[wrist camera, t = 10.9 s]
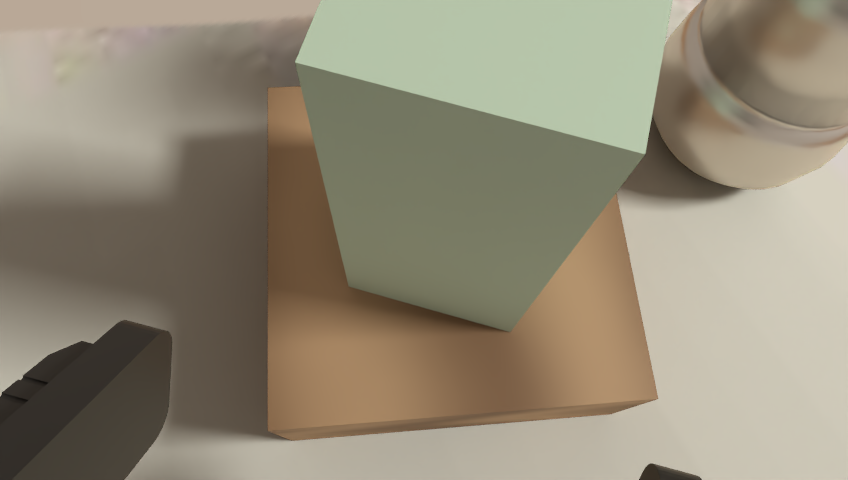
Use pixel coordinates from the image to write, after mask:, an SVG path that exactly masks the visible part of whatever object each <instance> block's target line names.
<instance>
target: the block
mask: <svg viewBox="0 0 848 480" xmlns="http://www.w3.org/2000/svg"><path fill="white" fill-rule="evenodd" d="M671 6H672V0H321V1H320V4H319V6H318V8H317V11H316V13H315V16H314V18H313V20H312V23H311V25H310V27H309V30H308V32H307V35H306V37H305V39H304V42H303V44H302V46H301V49H300V51H299V54H298V56H297V58H296V61H295V65H296V69H297V73H298V78H299V82H300V86H301V90H302V94H303V98H304V102H305V107H306V111H307V115H308V119H309V123H310V127H311V132H312V136H313V140H314V144H315V148H316V152H317V157H318V161H319V165H320V169H321V173H322V177H323V182H324V186H325V190H326V194H327V198H328V202H329V207H330V211H331V215H332V219H333V223H334V227H335V232H336V236H337V240H338V244H339V248H340V252H341V257H342V261H343V265H344V269H345V273H346V277H347V281H348V286H349V287H352V288H356V289H359V290H363V291H366V292H370V293H373V294H377V295H380V296H384V297H387V298H391V299H395V300H398V301H402V302H405V303H409V304H412V305H416V306H419V307H423V308H426V309H430V310H433V311H437V312H441V313H444V314H448V315H451V316H455V317H458V318H462V319H465V320H469V321H472V322H476V323H480V324H483V325H487V326H490V327H494V328H497V329H501V330H504V331H508V332H511V331H512V329H513V328H514V327H515V325H516V324H517V323H518V321H519V320H520V319H521V317H522V316H523V315H524V314H525V312H526V311H527V310H528V308H529V307H530V306H531V304H532V303H533V302H534V300H535V299H536V298H537V296H538V295H539V294H540V292H541V291H542V290H543V288H544V287H545V286H546V285H547V283H548V282H549V281H550V279H551V278H552V277H553V275H554V274H555V273H556V271H557V270H558V269H559V267H560V266H561V265H562V263H563V262H564V261H565V260H566V258H567V257H568V256H569V254H570V253H571V252H572V250H573V249H574V248H575V246H576V245H577V244H578V242H579V241H580V240H581V238H582V237H583V236H584V234H585V233H586V232H587V231H588V229H589V228H590V227H591V225H592V224H593V223H594V221H595V220H596V219H597V217H598V216H599V215H600V213H601V212H602V211H603V209H604V208H605V207H606V205H607V204H608V203H609V202H610V200H611V199H612V198H613V196H614V195H615V194H616V192H617V191H618V190H619V188H620V187H621V186H622V184H623V183H624V182H625V180H626V179H627V178H628V177H629V175H630V174H631V173H632V171H633V170H634V169H635V167H636V166H637V165H638V163H639V162H640V161H641V159H642V158H643V157H644V155H645V153H646V148H647V142H648V136H649V131H650V125H651V119H652V114H653V108H654V102H655V97H656V91H657V85H658V80H659V74H660V68H661V63H662V57H663V51H664V46H665V40H666V34H667V29H668V23H669V17H670V12H671Z"/></svg>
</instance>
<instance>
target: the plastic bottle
mask: <svg viewBox="0 0 848 480" xmlns="http://www.w3.org/2000/svg"><path fill="white" fill-rule="evenodd" d="M653 118H654V121H655V123H656V125H657V128H658V130H659V133H660V135H661V137H662V139H663V140H664V142H665V144H666V145H667V147H668V148H669V150H670V151H671V152H672V153H673V154H674V155H675V157H676V158H677V159H678V160H679V161H680V162H681V163H682V164H684V165H685V166H686V167H688V168H689V169H690V170H691V171H693V172H695V173H696V174H698V175H700V176H702V177H703V178H705V179H708V180H711V181H713V182H716V183H719V184H722V185H726V186H731V187H736V188H741V189H768V188H773V187H778V186H781V185H783V184H785V183H788V182H790V181H792V180H795V179H797V178H799V177H801V176H803V175H805V174H808V173H810V172H812V171H814V170H816V169H818V168H821V167H822V166H823V165H824V164H826V163H827V162H828V161H830V160H831V159H832V158H834V157H835V155H836V154H837V153H838V152H839V151H840V150H841V149H842V148H843V147H844V146H845V145H846V144H847V142H848V0H702V1H701V2H700V3H699V4H698V5H697V6H696V7H695V8H694V9H693V10H692V11H691V12H690V13H689V14H688V16H687V17H686V18H685V19H684V20H683V21H682V23H681V24H680V25H679V26H678V27H677V28H676V30H675V31H674V32H673V33H672V34H671V36H670V37H669V39H668V40H667V42H666V44H665V46H664V51H663V57H662V63H661V68H660V74H659V80H658V85H657V91H656V97H655V102H654V108H653Z"/></svg>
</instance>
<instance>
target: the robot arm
mask: <svg viewBox="0 0 848 480" xmlns="http://www.w3.org/2000/svg"><path fill="white" fill-rule="evenodd" d="M171 355H172V337H171V334H170V333H169V332H168V331H164V330H161V329H157V328H153V327H149V326H146V325H142V324H138V323H135V322H131V321H127V320H123V321H120V322H119V323H117V324H116V325H115V326H114V327H112V328H111V329H110V330H109V331H108V332H107V333H105V334H104V335H103V336H102V337H101V338H100V339H99V340H97V341H96V342H95V343H94V344H91V343H87V342H84V341H81V342H78V343H76V344H74V345H71V346H69V347H67V348H64V349H62V350H59V351H57V352H55V353H52V354H50V355H48V356H47V357H46V358H44V359H43V360H42V361H41V362H39V363H38V364H37V365H36V366H34V367H33V368H32V369H31V370H29V371H28V372H27V373H26V374H24V375H23V378H22V380H17V381H16V382H15V383H13V384H12V385H11V386H10V387H8V388H7V389H6V390H5V391H3V392H2V395H1V397H0V480H124V479H125V478H126V477H127V476H128V474H129V473H130V472H131V471H132V469H133V468H134V467H135V466H136V464H137V463H138V462H139V460H140V459H141V458H142V457H143V455H144V454H145V453H146V452H147V450H148V449H149V448H150V447H151V445H152V444H153V443H154V441H155V440H156V438H157V437H158V435H159V433H160V431H161V429H162V427H163V424H164V422H165V419H166V416H167V412H168V407H169V394H170V375H171ZM639 480H702V479H701V478H700V477H699V476H696V475H693V474H689V473H685V472H682V471H678V470H674V469H670V468H667V467H663V466H659V465H656V464H649V465H647V466H646V468H645V469H644V471H643V473H642V475H641V477H640V479H639Z"/></svg>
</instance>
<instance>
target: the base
mask: <svg viewBox="0 0 848 480" xmlns="http://www.w3.org/2000/svg"><path fill="white" fill-rule="evenodd" d="M656 399H658V396H657V391H656V386H655V381H654V376H653V371H652V366H651V361H650V356H649V351H648V346H647V341H646V337H645V332H644V327H643V322H642V317H641V312H640V307H639V302H638V297H637V292H636V287H635V283H634V278H633V273H632V268H631V263H630V258H629V253H628V248H627V243H626V238H625V233H624V228H623V224H622V219H621V214H620V209H619V204H618V199H617V194H615V195H614V196H613V198H612V199H611V200H610V202H609V203H608V204H607V205H606V207H605V208H604V209H603V211H602V212H601V213H600V215H599V216H598V217H597V219H596V220H595V221H594V223H593V224H592V225H591V227H590V228H589V229H588V231H587V232H586V233H585V234H584V236H583V237H582V238H581V240H580V241H579V242H578V244H577V245H576V246H575V248H574V249H573V250H572V252H571V253H570V254H569V256H568V257H567V258H566V260H565V261H564V262H563V263H562V265H561V266H560V267H559V269H558V270H557V271H556V273H555V274H554V275H553V277H552V278H551V279H550V281H549V282H548V283H547V285H546V286H545V287H544V288H543V290H542V291H541V292H540V294H539V295H538V296H537V298H536V299H535V300H534V302H533V303H532V304H531V306H530V307H529V308H528V310H527V311H526V312H525V314H524V315H523V316H522V317H521V319H520V320H519V321H518V323H517V324H516V325H515V327H514V328H513V329H512V331H511V332H508V331H504V330H501V329H497V328H494V327H490V326H487V325H483V324H480V323H476V322H472V321H469V320H465V319H462V318H458V317H455V316H451V315H448V314H444V313H441V312H437V311H433V310H430V309H426V308H423V307H419V306H416V305H412V304H409V303H405V302H402V301H398V300H395V299H391V298H387V297H384V296H380V295H377V294H373V293H370V292H366V291H363V290H359V289H356V288H352V287H349V286H348V281H347V277H346V273H345V269H344V265H343V261H342V257H341V252H340V248H339V244H338V240H337V236H336V232H335V227H334V223H333V219H332V215H331V211H330V207H329V202H328V198H327V194H326V190H325V186H324V182H323V177H322V173H321V169H320V165H319V161H318V157H317V152H316V148H315V144H314V140H313V136H312V132H311V127H310V123H309V119H308V115H307V111H306V107H305V102H304V98H303V94H302V90H301V86H295V87H274V88H268V431H269V432H272V433H274V434H276V435H279V436H281V437H284V438H286V439H289V440H291V441H294V440H306V439H318V438H330V437H342V436H354V435H366V434H378V433H390V432H402V431H414V430H426V429H438V428H450V427H462V426H474V425H486V424H498V423H510V422H522V421H534V420H546V419H558V418H570V417H582V416H594V415H606V414H612V413H616V412H619V411H622V410H625V409H628V408H631V407H634V406H637V405H640V404H644V403H647V402H650V401H653V400H656Z"/></svg>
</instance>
